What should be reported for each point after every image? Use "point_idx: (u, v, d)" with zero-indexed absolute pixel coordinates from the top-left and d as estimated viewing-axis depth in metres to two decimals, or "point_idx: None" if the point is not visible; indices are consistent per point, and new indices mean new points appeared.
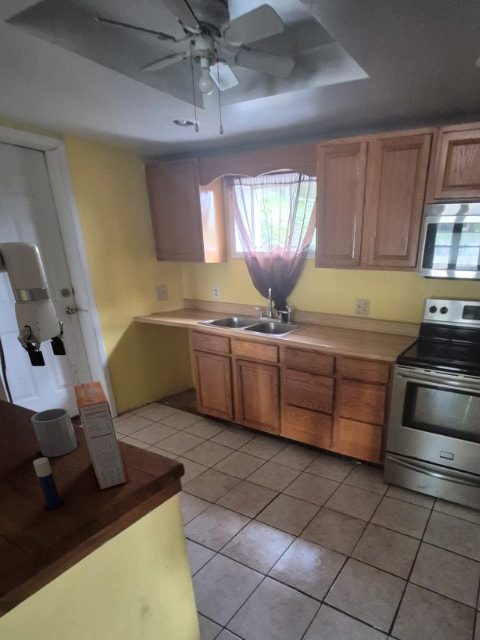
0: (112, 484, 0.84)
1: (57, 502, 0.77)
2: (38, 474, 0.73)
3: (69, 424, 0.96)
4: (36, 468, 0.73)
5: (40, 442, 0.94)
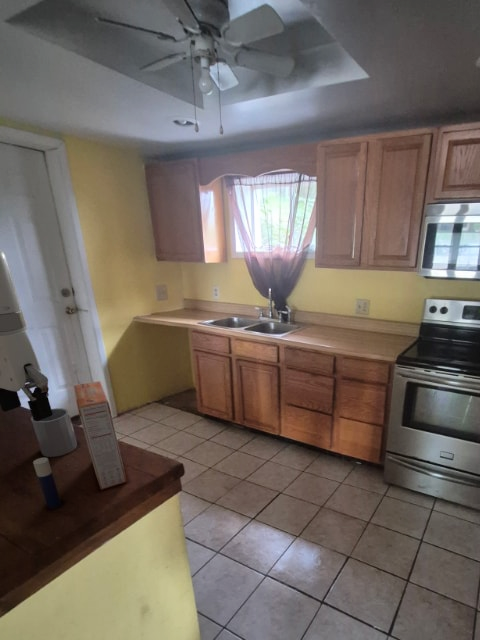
0: (112, 484, 0.84)
1: (57, 502, 0.77)
2: (38, 474, 0.73)
3: (69, 424, 0.96)
4: (36, 468, 0.73)
5: (40, 442, 0.94)
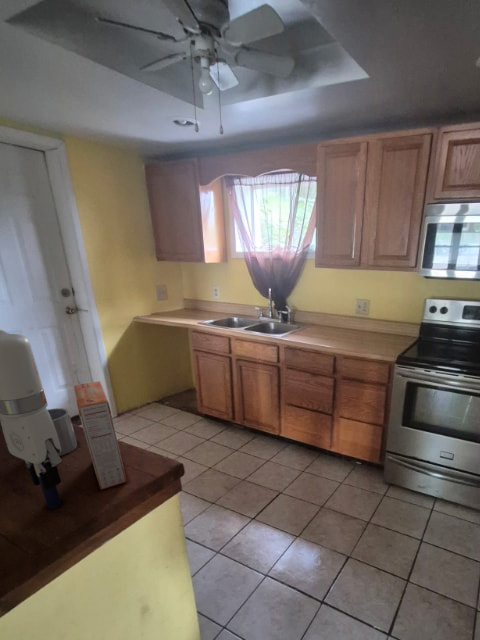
0: (112, 484, 0.84)
1: (57, 502, 0.77)
2: (38, 474, 0.73)
3: (69, 424, 0.96)
4: (36, 468, 0.73)
5: None
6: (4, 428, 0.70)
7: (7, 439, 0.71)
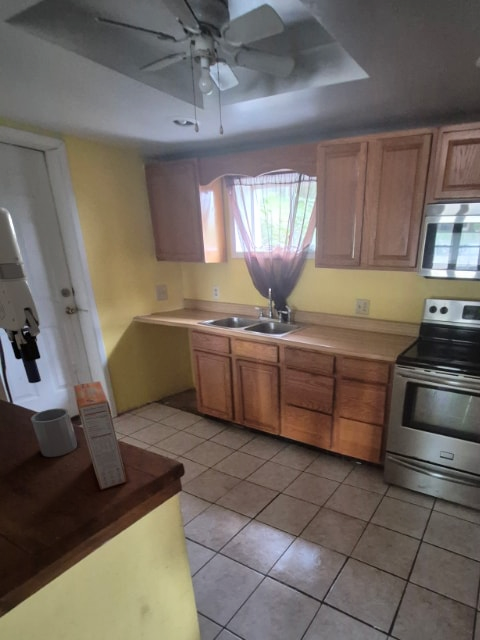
0: (112, 484, 0.84)
1: (37, 378, 0.84)
2: (19, 346, 0.81)
3: (69, 424, 0.96)
4: (17, 340, 0.80)
5: (40, 442, 0.94)
6: None
7: None
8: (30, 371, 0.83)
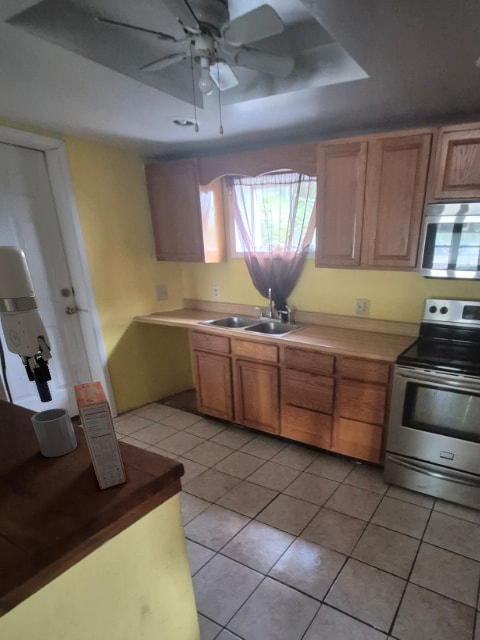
0: (112, 484, 0.84)
1: (49, 397, 0.93)
2: (32, 370, 0.89)
3: (69, 424, 0.96)
4: (31, 364, 0.88)
5: (40, 442, 0.94)
6: (4, 327, 0.85)
7: (6, 338, 0.86)
8: (42, 392, 0.91)
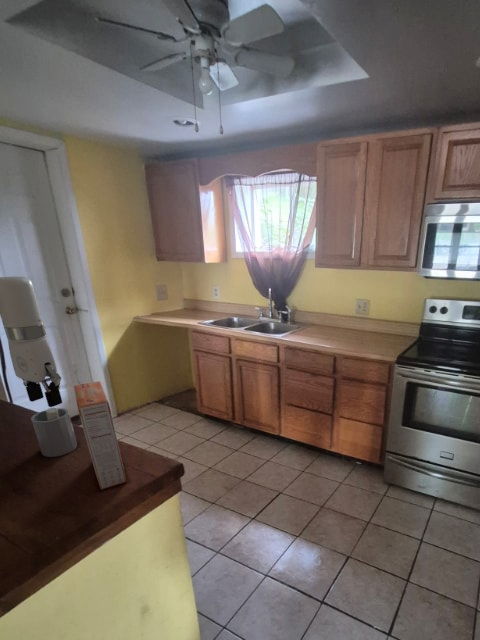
0: (112, 484, 0.84)
1: None
2: (49, 420, 0.94)
3: (69, 424, 0.96)
4: (48, 415, 0.93)
5: (40, 442, 0.94)
6: (12, 354, 0.87)
7: (14, 364, 0.89)
8: None
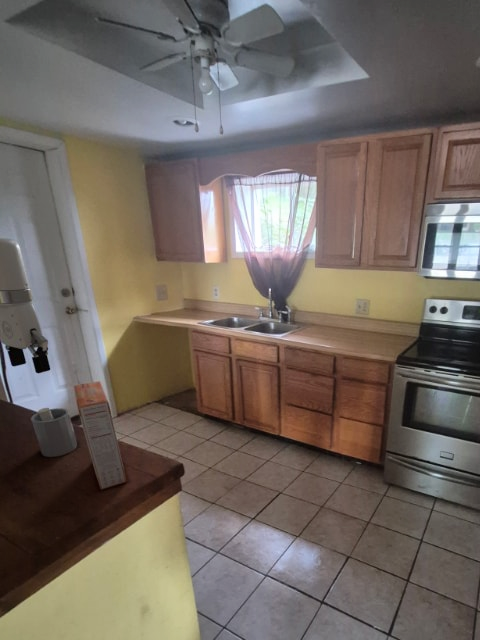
0: (112, 484, 0.84)
1: None
2: (43, 420, 0.94)
3: (69, 424, 0.96)
4: (41, 415, 0.93)
5: (40, 442, 0.94)
6: None
7: None
8: None
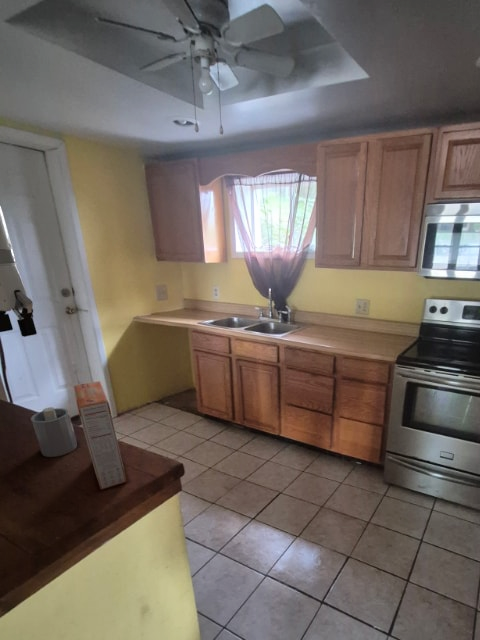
0: (112, 484, 0.84)
1: None
2: (46, 419, 0.94)
3: (69, 424, 0.96)
4: (45, 414, 0.94)
5: (40, 442, 0.94)
6: None
7: None
8: None
